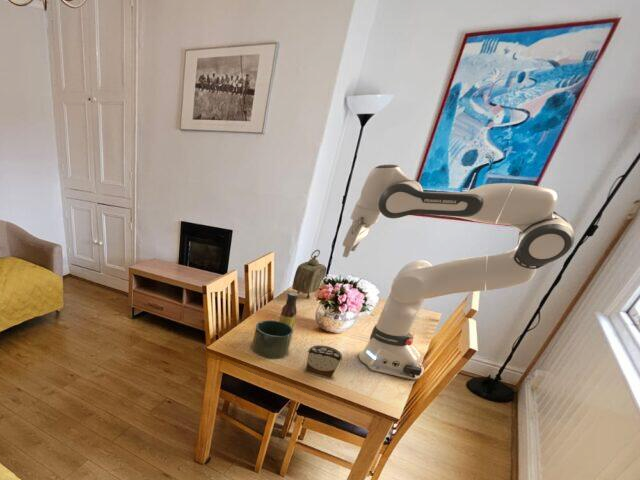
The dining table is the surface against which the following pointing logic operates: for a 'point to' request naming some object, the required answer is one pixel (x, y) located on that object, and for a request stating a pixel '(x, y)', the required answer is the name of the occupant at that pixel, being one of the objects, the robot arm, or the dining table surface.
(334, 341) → the dining table surface
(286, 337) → the bottle cooler
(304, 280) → the tabletop clock
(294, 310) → the sauce bottle
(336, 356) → the food container
